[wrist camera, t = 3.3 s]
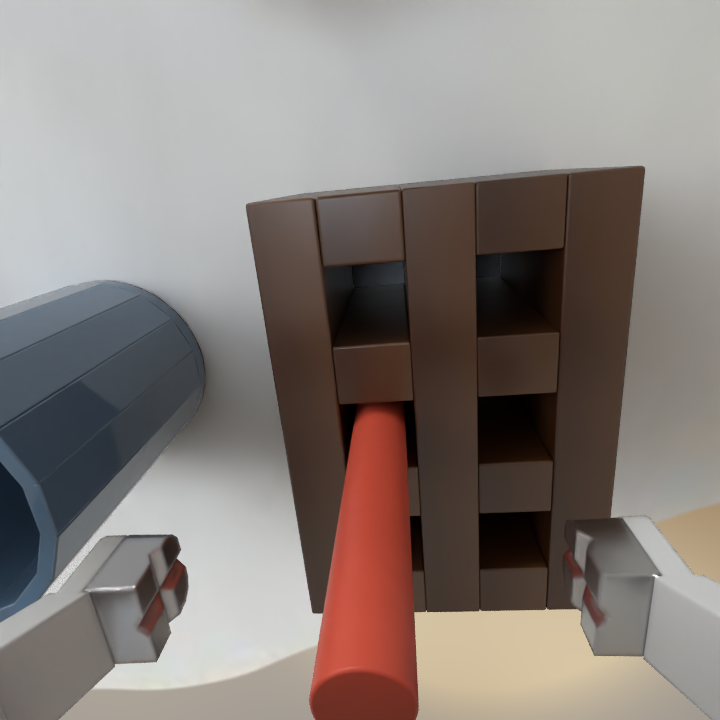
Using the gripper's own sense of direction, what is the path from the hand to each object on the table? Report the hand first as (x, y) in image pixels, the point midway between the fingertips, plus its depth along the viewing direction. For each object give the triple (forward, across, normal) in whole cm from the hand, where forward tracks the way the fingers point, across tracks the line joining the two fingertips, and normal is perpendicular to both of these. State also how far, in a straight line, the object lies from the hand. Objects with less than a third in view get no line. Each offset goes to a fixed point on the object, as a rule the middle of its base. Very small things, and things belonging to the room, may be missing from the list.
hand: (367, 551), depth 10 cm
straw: (+13, 0, 0) cm, 13 cm away
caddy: (+13, -2, 0) cm, 13 cm away
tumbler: (+13, +12, 0) cm, 18 cm away
